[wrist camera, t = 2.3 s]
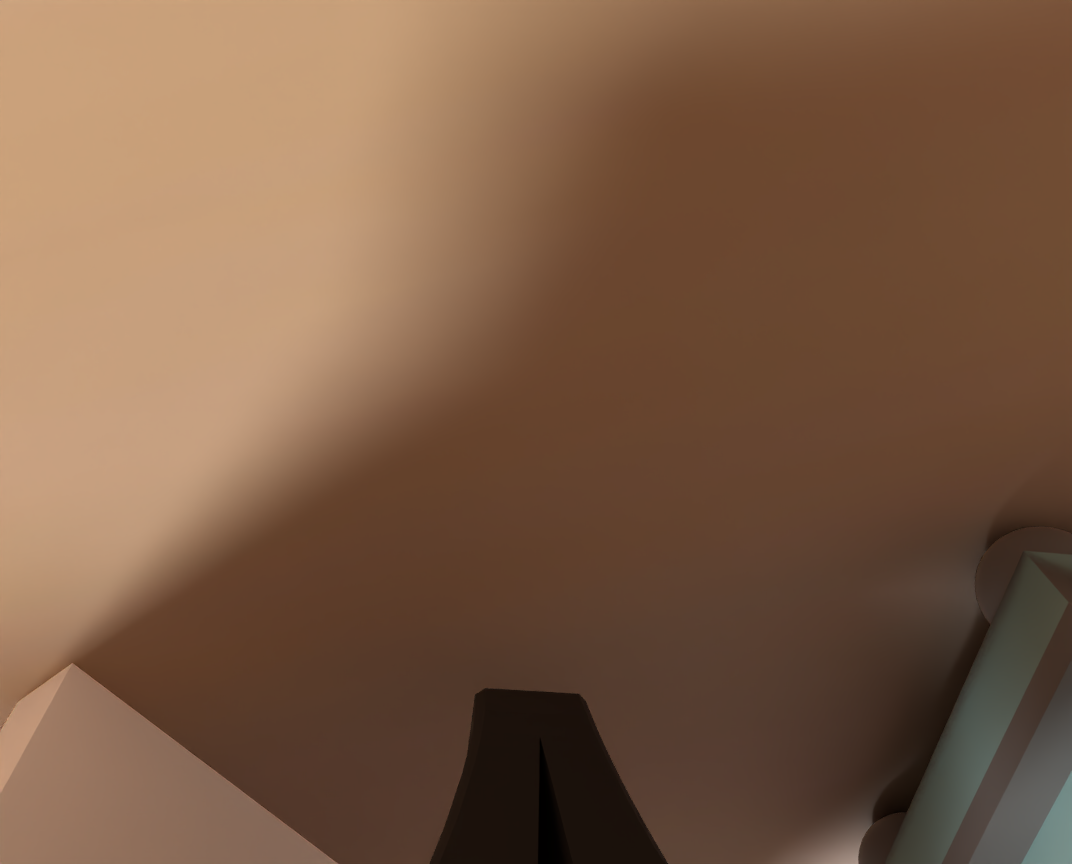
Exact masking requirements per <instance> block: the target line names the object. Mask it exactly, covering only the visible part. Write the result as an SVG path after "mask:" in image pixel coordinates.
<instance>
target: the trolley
mask: <svg viewBox="0 0 1072 864" xmlns="http://www.w3.org/2000/svg"><path fill="white" fill-rule="evenodd" d="M975 591H976V597H977V601H978V604H979V607H980V609H981V611H982V613H983V615H984V616H985V618H986V619H987V621H988V622H989V623H990V624H991V625H990V627H989V629H988V631H987V634H986V636H985V638H984V640H983V643H982V645H981V647H980V649H979V652H978V654H977V656H976V658H975V661H974V663H973V665H972V667H971V670H970V672H969V674H968V676H967V679H966V681H965V683H964V685H963V688H962V690H961V692H960V694H959V697H958V699H957V701H956V703H955V706H954V708H953V710H952V712H951V715H950V717H949V719H948V721H947V724H946V726H945V728H944V730H943V733H942V735H941V737H940V739H939V742H938V744H937V746H936V748H935V751H934V753H933V755H932V757H931V760H930V762H929V764H928V766H927V768H926V771H925V773H924V775H923V777H922V780H921V782H920V784H919V786H918V789H917V791H916V793H915V795H914V798H913V800H912V802H911V804H910V807H909V809H908V811H907V812H900V813H894V814H890V815H887V816H885V817H883V818H881V819H879V820H878V821H877V822H875V823H874V824H873V825H872V826H871V827H870V828H869V829H868V831H867V832H866V834H865V836H864V837H863V839H862V842H861V845H860V849H859V856H858V863H859V864H1072V533H1070V532H1067V531H1065V530H1061V529H1057V528H1052V527H1027V528H1022V529H1019V530H1016V531H1013V532H1010V533H1008V534H1006V535H1004V536H1003V537H1001V538H999V539H998V540H997V541H995V542H994V543H993V544H992V545H991V546H990V547H989V548H988V550H987V551H986V552H985V554H984V555H983V557H982V558H981V560H980V562H979V565H978V568H977V571H976V576H975Z"/></svg>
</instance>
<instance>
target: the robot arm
mask: <svg viewBox="0 0 1072 864" xmlns="http://www.w3.org/2000/svg"><path fill="white" fill-rule="evenodd" d="M430 864H668V863H667V861H666V859H665V858H664V856H663V854H662V853H661V851H660V849H659V848H658V846H657V844H656V843H655V841H654V839H653V837H652V836H651V834H650V832H649V830H648V828H647V827H646V825H645V823H644V821H643V819H642V818H641V816H640V814H639V812H638V810H637V809H636V807H635V805H634V803H633V802H632V800H631V798H630V796H629V794H628V792H627V790H626V788H625V786H624V784H623V782H622V781H621V779H620V776H619V774H618V772H617V770H616V768H615V766H614V764H613V762H612V760H611V758H610V756H609V754H608V752H607V750H606V748H605V746H604V743H603V741H602V739H601V737H600V735H599V732H598V730H597V728H596V725H595V723H594V721H593V718H592V716H591V714H590V711H589V709H588V706H587V703H586V701H585V700H584V699H583V698H582V697H581V696H580V695H579V694H571V693H554V692H538V691H521V690H505V689H488V688H485V689H483V690H482V691H480V692H479V693H477V694H475V700H474V707H473V715H472V722H471V730H470V737H469V745H468V752H467V758H466V762H465V765H464V769H463V773H462V776H461V779H460V782H459V785H458V788H457V791H456V794H455V797H454V800H453V803H452V806H451V809H450V812H449V815H448V819H447V821H446V824H445V827H444V829H443V832H442V834H441V837H440V839H439V842H438V844H437V847H436V849H435V851H434V854H433V856H432V859H431V861H430Z"/></svg>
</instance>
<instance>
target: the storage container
mask: <svg viewBox="0 0 1072 864" xmlns="http://www.w3.org/2000/svg"><path fill="white" fill-rule="evenodd" d="M0 864H338V863H337V862H335V861H334V860H333V859H331V858H330V857H329V856H327V855H326V854H325V853H323V852H322V851H321V850H319V849H318V848H317V847H315V846H314V845H313V844H311V843H310V842H309V841H307V840H306V839H305V838H303V837H302V836H301V835H299V834H298V833H297V832H296V831H294V830H293V829H292V828H290V827H289V826H288V825H286V824H285V823H284V822H282V821H281V820H280V819H278V818H277V817H276V816H274V815H273V814H272V813H270V812H269V811H268V810H266V809H265V808H264V807H262V806H261V805H260V804H258V803H257V802H256V801H254V800H253V799H252V798H251V797H249V796H248V795H247V794H245V793H244V792H243V791H241V790H240V789H239V788H237V787H236V786H235V785H233V784H232V783H231V782H229V781H228V780H227V779H225V778H224V777H223V776H221V775H220V774H219V773H217V772H216V771H215V770H213V769H212V768H211V767H209V766H208V765H207V764H206V763H204V762H203V761H202V760H200V759H199V758H198V757H196V756H195V755H194V754H192V753H191V752H190V751H188V750H187V749H186V748H184V747H183V746H182V745H180V744H179V743H178V742H176V741H175V740H174V739H172V738H171V737H170V736H168V735H167V734H166V733H164V732H163V731H162V730H161V729H159V728H158V727H157V726H155V725H154V724H153V723H151V722H150V721H149V720H147V719H146V718H145V717H143V716H142V715H141V714H139V713H138V712H137V711H135V710H134V709H133V708H131V707H130V706H129V705H127V704H126V703H125V702H123V701H122V700H121V699H119V698H118V697H117V696H116V695H114V694H113V693H112V692H110V691H109V690H108V689H106V688H105V687H104V686H102V685H101V684H100V683H98V682H97V681H96V680H94V679H93V678H92V677H90V676H89V675H88V674H86V673H85V672H84V671H82V670H81V669H80V668H78V667H77V666H76V665H74V664H73V663H72V664H70V665H69V666H67V667H66V668H65V669H63V670H62V671H60V672H59V673H57V674H56V675H55V676H53V677H52V678H50V679H49V680H48V681H46V682H45V683H43V684H42V685H41V686H39V687H38V688H36V689H35V690H34V691H32V692H31V693H29V694H28V695H26V696H25V697H24V698H22V699H21V700H19V701H18V702H17V704H16V705H15V707H14V709H13V710H12V712H11V714H10V715H9V717H8V719H7V721H6V722H5V724H4V726H3V727H2V729H1V731H0Z"/></svg>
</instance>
